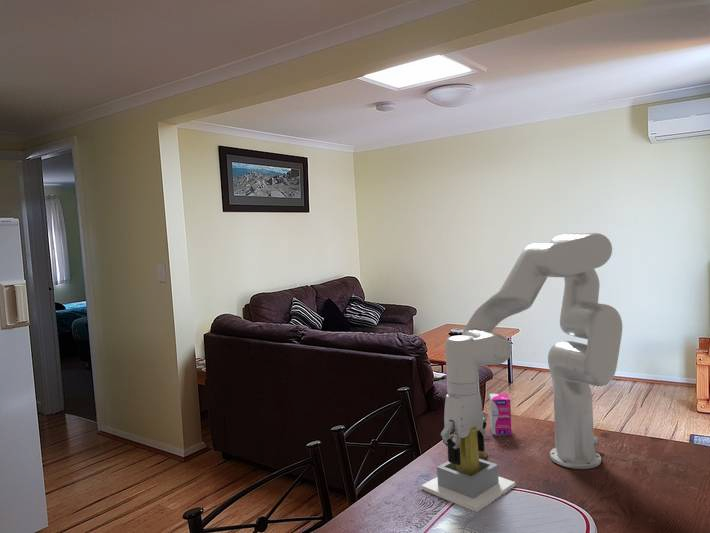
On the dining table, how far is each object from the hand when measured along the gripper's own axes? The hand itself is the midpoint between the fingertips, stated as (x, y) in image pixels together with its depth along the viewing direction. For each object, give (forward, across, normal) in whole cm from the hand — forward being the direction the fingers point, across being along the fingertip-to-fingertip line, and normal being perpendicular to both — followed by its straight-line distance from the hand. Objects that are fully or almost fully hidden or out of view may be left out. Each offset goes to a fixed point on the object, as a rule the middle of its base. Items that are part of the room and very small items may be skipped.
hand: (466, 456), depth 126 cm
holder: (+8, 0, 0) cm, 8 cm away
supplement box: (+8, -35, -13) cm, 38 cm away
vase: (+7, 0, 0) cm, 7 cm away
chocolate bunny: (+8, -15, -9) cm, 19 cm away
